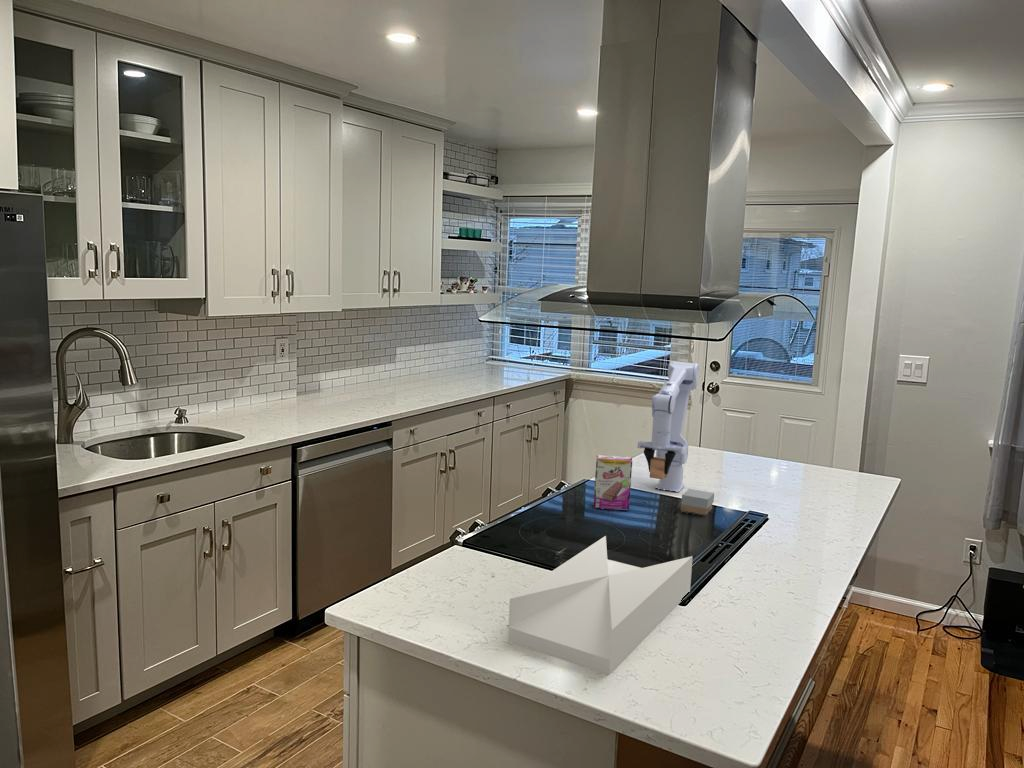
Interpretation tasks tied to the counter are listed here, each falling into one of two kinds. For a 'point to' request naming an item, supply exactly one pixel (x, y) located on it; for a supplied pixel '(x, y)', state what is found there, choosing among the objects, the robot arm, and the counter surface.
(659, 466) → the terracotta block
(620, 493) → the candy bar box
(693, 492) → the slate slab
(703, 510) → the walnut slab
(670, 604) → the white zigzag wedge
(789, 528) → the counter surface
